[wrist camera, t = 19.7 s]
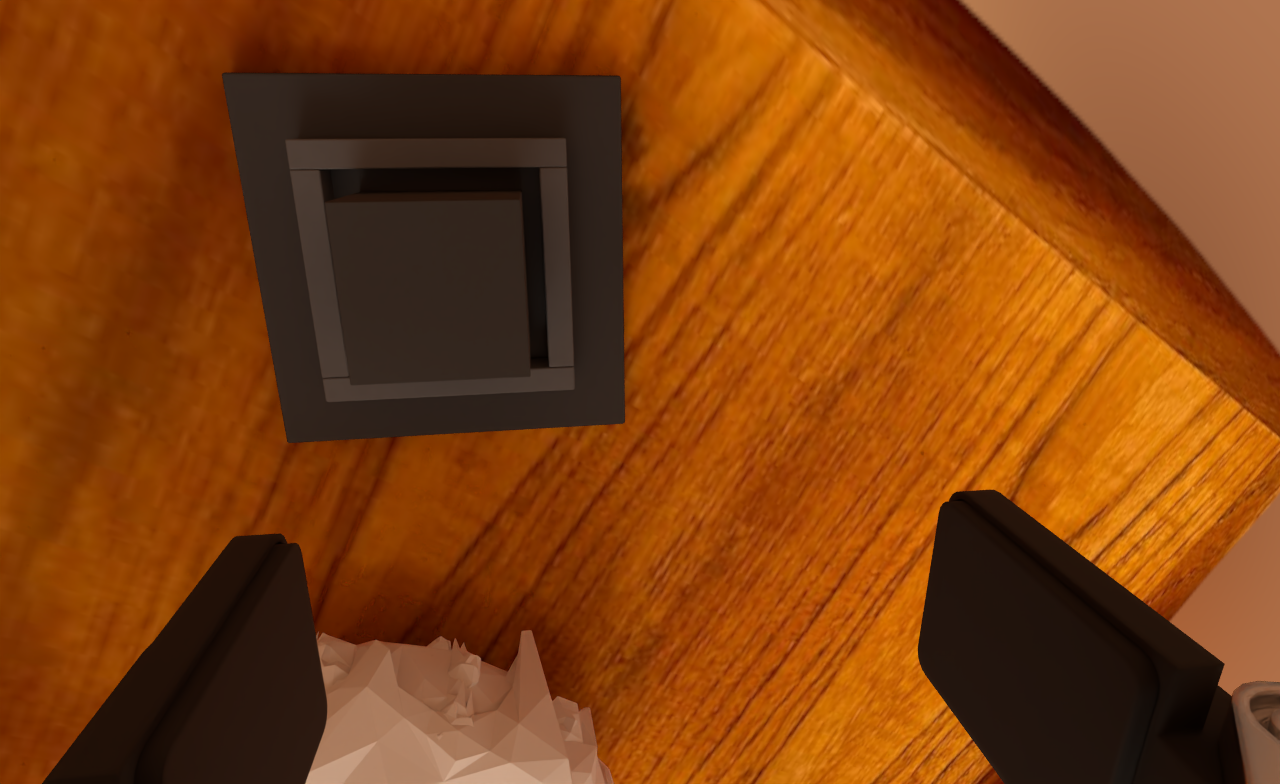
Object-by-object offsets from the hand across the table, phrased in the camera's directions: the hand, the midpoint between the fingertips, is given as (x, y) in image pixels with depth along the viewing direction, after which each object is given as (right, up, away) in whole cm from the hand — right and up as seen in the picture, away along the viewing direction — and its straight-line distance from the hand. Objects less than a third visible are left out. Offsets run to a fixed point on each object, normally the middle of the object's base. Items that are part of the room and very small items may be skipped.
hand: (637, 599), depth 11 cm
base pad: (-8, +8, +19) cm, 22 cm away
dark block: (-7, +8, +18) cm, 21 cm away
